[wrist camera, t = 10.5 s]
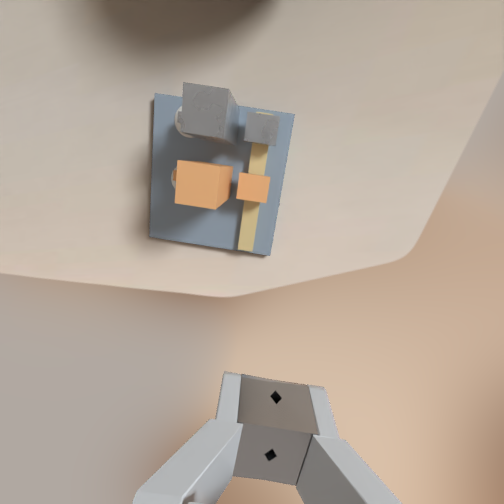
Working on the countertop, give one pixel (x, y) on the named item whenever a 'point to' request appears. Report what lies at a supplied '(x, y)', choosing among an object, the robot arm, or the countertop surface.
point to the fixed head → (222, 117)
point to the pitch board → (243, 160)
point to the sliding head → (215, 184)
